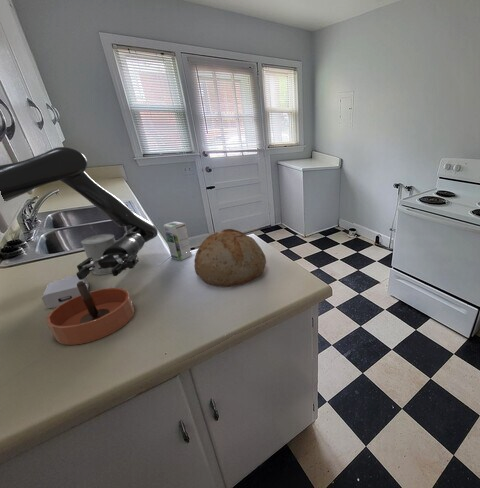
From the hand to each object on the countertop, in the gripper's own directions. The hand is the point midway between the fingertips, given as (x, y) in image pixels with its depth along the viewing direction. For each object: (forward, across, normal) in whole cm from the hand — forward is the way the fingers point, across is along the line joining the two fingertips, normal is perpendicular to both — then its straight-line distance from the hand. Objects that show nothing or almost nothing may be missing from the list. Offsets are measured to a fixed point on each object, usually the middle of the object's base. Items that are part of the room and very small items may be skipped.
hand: (96, 275), depth 76 cm
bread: (-15, +34, +11) cm, 38 cm away
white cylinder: (-27, -12, +11) cm, 32 cm away
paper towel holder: (+7, 0, +10) cm, 12 cm away
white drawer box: (-12, -16, +11) cm, 23 cm away
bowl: (+7, 0, +11) cm, 13 cm away
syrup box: (-32, +12, +11) cm, 36 cm away
